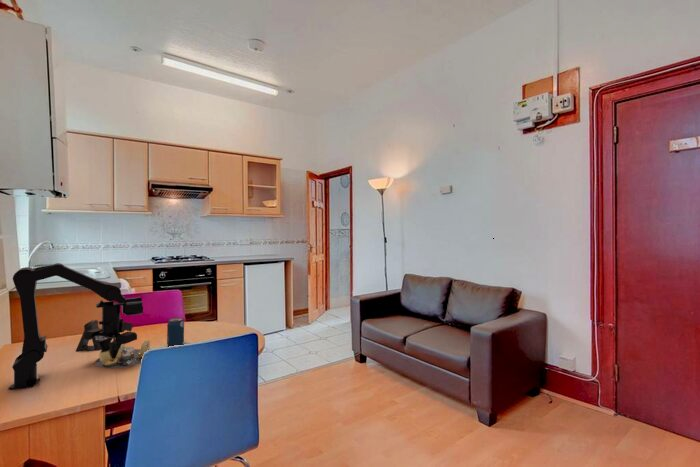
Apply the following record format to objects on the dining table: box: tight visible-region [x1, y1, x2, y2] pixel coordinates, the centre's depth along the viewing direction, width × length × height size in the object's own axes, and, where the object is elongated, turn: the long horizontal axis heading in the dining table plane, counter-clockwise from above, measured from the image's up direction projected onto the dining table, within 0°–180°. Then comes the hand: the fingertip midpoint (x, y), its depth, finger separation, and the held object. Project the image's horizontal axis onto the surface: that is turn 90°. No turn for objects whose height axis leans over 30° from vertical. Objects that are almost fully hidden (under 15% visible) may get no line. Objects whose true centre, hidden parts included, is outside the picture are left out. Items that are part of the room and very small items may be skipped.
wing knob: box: [99, 346, 122, 367], centre depth 134 cm, size 7×5×6 cm
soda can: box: [166, 317, 185, 347], centre depth 161 cm, size 7×7×12 cm
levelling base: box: [94, 340, 151, 369], centre depth 141 cm, size 20×20×7 cm
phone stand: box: [75, 319, 101, 352], centre depth 154 cm, size 9×6×12 cm, turn 103°
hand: (110, 358), depth 134 cm, fingers closed on wing knob, 3 cm apart
